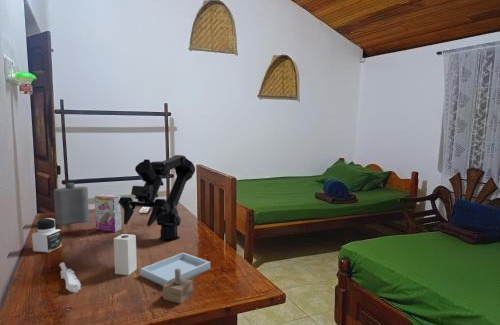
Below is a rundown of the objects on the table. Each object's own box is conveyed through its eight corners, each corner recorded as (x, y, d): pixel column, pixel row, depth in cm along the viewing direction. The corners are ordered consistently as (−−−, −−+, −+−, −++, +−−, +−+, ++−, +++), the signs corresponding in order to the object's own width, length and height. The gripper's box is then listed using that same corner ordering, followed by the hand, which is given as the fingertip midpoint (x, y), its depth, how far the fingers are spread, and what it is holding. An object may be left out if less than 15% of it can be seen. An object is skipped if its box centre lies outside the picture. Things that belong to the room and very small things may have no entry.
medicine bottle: (48, 252, 129) (46, 222, 128) (32, 251, 131) (30, 221, 129) (62, 246, 136) (60, 217, 135) (47, 245, 137) (45, 216, 136)
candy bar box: (95, 230, 157) (93, 195, 155) (103, 227, 162) (101, 193, 160) (114, 232, 153) (113, 197, 152) (122, 229, 158) (121, 195, 156)
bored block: (123, 267, 116) (122, 233, 115) (136, 268, 115) (135, 234, 114) (115, 273, 111) (113, 238, 110) (128, 275, 110) (127, 239, 109)
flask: (88, 218, 176) (86, 181, 174) (89, 221, 171) (87, 183, 169) (55, 223, 168) (53, 183, 166) (55, 226, 163) (53, 185, 161)
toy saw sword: (70, 266, 117) (82, 291, 100) (57, 269, 115) (67, 295, 97) (69, 259, 117) (82, 283, 99) (56, 262, 114) (67, 287, 97)
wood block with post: (175, 289, 100) (175, 264, 100) (192, 293, 98) (192, 267, 97) (163, 299, 95) (162, 272, 94) (181, 303, 93) (180, 276, 92)
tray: (183, 258, 124) (183, 252, 123) (210, 269, 115) (210, 262, 115) (140, 275, 110) (140, 268, 109) (167, 288, 101) (167, 280, 101)
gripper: (119, 175, 125) (102, 212, 116) (165, 177, 121) (151, 215, 112) (132, 192, 134) (117, 227, 124) (175, 194, 130) (163, 230, 120)
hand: (136, 225), depth 120 cm, fingers open, 9 cm apart
